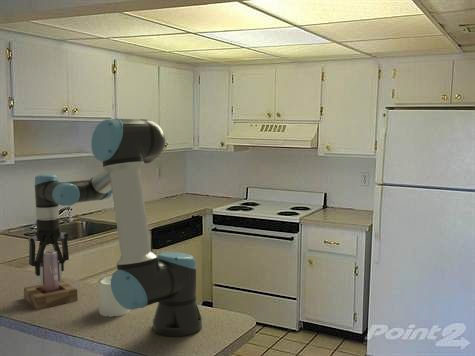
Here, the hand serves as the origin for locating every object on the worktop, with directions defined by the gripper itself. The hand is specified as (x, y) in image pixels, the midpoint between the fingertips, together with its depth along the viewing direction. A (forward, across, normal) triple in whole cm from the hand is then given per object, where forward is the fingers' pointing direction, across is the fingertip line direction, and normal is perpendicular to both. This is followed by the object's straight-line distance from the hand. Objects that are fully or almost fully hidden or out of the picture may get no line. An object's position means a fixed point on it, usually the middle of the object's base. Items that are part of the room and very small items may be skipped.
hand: (50, 282), depth 183 cm
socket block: (+6, 0, 0) cm, 6 cm away
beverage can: (+4, 0, 0) cm, 4 cm away
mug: (+7, -13, +24) cm, 28 cm away
